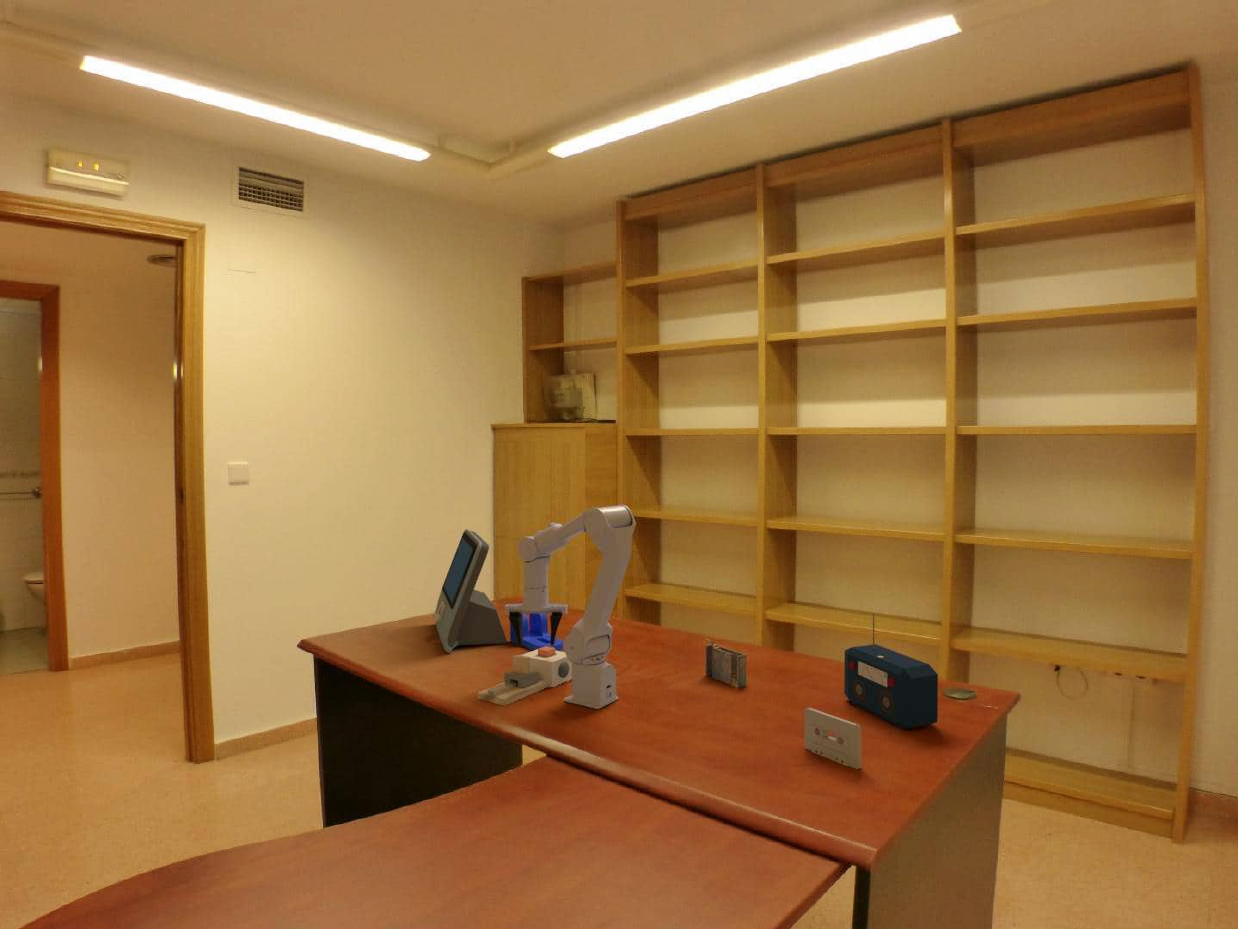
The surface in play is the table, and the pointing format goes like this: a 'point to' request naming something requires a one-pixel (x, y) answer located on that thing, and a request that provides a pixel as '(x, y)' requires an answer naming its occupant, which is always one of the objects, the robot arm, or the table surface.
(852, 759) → the cassette
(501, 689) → the rail
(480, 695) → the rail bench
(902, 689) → the radio
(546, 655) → the button
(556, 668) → the cabinet
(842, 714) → the table surface
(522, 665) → the carriage
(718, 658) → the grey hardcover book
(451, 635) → the touchscreen device
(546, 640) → the bracket
